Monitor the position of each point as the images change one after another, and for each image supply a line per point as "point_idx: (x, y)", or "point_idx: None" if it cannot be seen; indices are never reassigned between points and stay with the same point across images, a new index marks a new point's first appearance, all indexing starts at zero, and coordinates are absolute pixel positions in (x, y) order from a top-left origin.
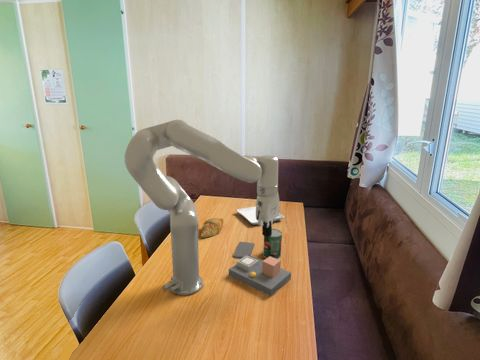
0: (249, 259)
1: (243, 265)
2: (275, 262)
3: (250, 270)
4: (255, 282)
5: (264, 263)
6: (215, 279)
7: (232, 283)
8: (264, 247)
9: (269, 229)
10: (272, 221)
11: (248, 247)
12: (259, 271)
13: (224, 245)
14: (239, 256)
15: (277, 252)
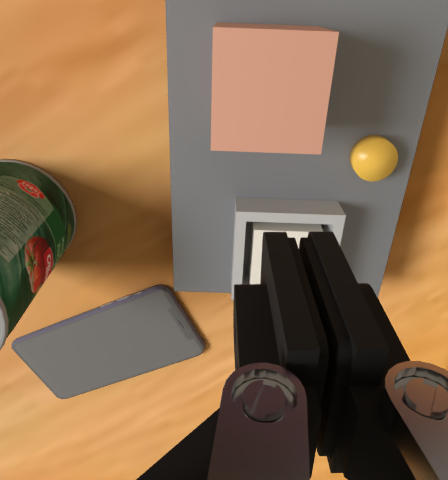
0: None
1: None
2: (274, 50)
3: (323, 199)
4: (427, 100)
5: (321, 131)
6: (426, 299)
7: (419, 221)
8: (50, 272)
9: (371, 316)
10: (233, 453)
11: (73, 344)
12: None
13: (144, 424)
14: (185, 329)
15: (9, 181)
